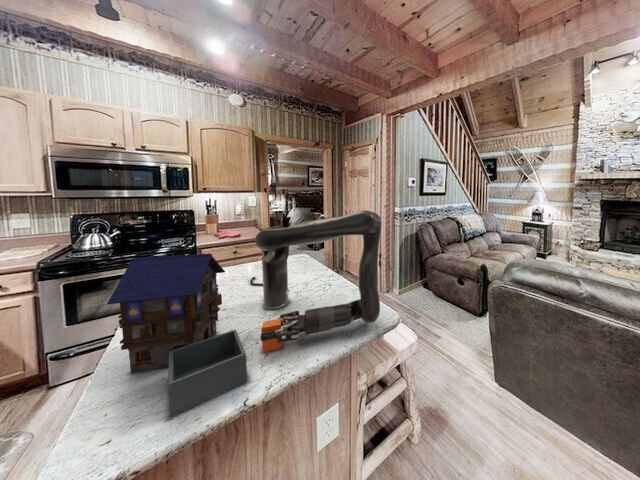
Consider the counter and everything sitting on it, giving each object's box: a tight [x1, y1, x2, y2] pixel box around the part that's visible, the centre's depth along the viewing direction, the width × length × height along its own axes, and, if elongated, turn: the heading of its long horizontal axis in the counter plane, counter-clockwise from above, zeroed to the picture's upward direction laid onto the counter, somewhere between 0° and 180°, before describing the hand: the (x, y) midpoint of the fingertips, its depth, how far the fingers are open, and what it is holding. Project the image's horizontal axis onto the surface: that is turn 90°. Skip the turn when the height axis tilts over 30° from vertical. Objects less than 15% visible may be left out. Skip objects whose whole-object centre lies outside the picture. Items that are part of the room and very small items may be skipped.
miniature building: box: [106, 252, 226, 374], centre depth 76 cm, size 19×21×30 cm
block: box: [261, 319, 283, 354], centre depth 79 cm, size 3×5×8 cm, turn 113°
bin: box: [167, 329, 248, 418], centre depth 66 cm, size 15×15×8 cm
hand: (262, 331), depth 78 cm, fingers open, 5 cm apart
